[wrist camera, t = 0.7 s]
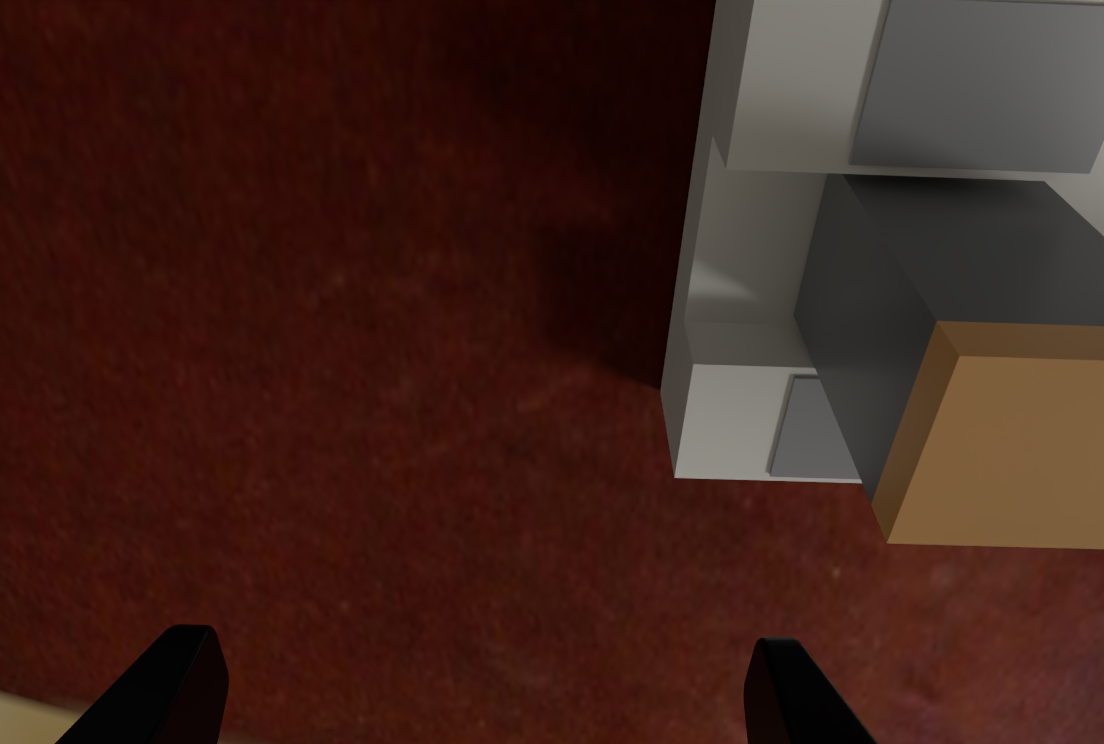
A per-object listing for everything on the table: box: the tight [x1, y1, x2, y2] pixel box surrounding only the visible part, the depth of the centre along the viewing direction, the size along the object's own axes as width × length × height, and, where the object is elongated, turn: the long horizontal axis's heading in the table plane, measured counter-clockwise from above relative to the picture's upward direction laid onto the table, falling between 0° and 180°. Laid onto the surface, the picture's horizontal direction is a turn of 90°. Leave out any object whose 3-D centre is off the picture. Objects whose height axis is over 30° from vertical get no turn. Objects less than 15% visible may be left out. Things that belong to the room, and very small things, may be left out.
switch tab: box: [793, 173, 1104, 549], centre depth 14 cm, size 4×3×6 cm
